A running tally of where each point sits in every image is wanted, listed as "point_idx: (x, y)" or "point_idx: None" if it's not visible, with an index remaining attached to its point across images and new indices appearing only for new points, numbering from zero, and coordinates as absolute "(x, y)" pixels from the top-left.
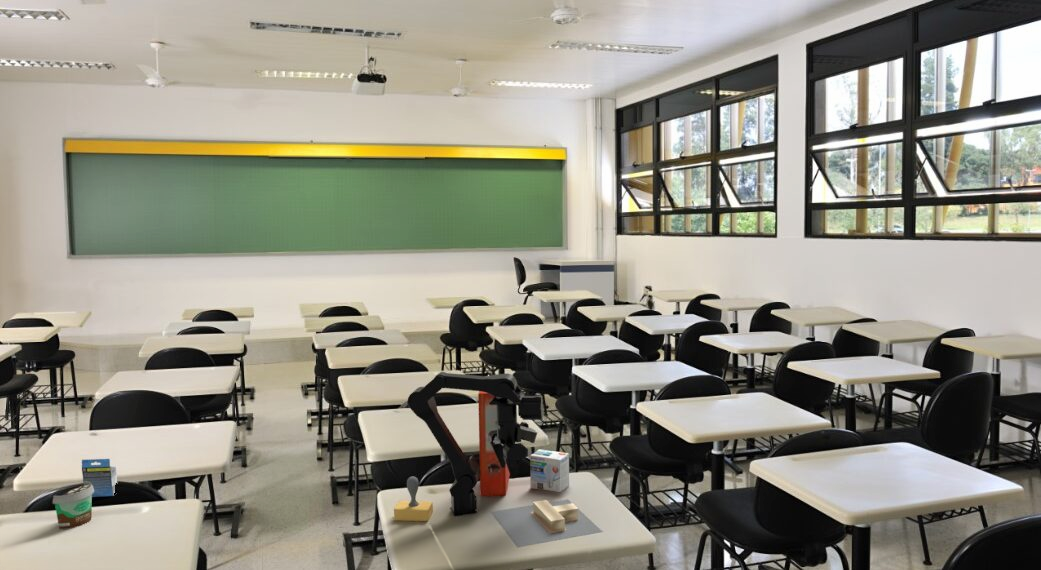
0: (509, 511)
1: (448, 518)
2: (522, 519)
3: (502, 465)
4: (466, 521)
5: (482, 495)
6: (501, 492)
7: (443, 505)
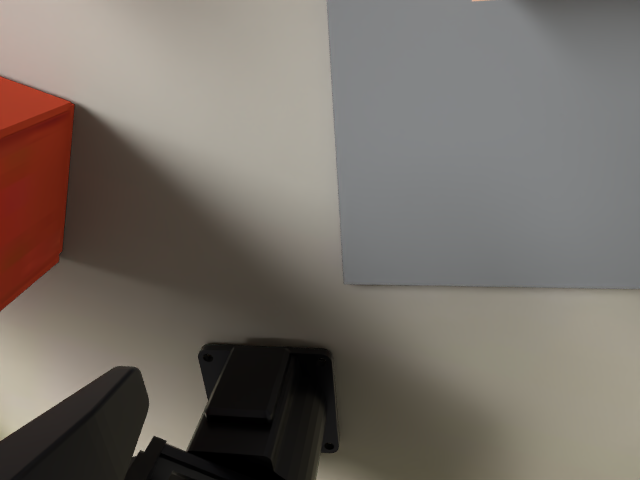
0: (387, 168)
1: (332, 466)
2: (584, 119)
3: (133, 427)
4: (405, 413)
5: (57, 251)
6: (54, 141)
7: None
